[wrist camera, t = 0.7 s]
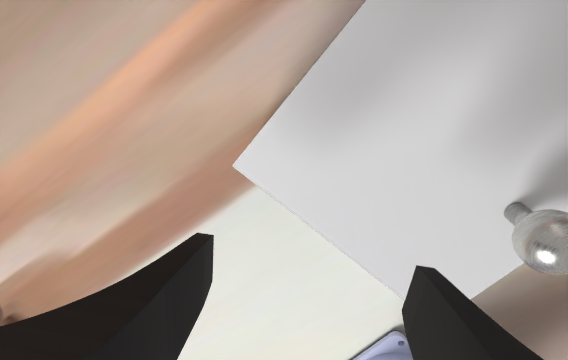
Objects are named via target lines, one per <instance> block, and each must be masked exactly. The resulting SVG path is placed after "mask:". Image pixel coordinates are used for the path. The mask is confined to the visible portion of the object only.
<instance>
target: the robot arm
mask: <svg viewBox="0 0 568 360" xmlns="http://www.w3.org/2000/svg"><path fill="white" fill-rule="evenodd" d="M213 241H214V235H209V234H202V233H196V234H194V235H193V236H191V237H190V238H188V239H187V240H186V241H184V242H183V243H181V244H180V245H178V246H177V247H175V248H174V249H172V250H171V251H169V252H168V253H166V254H165V255H163V256H162V257H160V258H159V259H157V260H156V261H154V262H152V263H151V264H149V265H147V266H146V267H144V268H142V269H141V270H139V271H137V272H136V273H134V274H132V275H130V276H129V277H127V278H125V279H123V280H121V281H119V282H117V283H115V284H113V285H111V286H109V287H107V288H105V289H103V290H101V291H98V292H96V293H94V294H92V295H89V296H87V297H84V298H82V299H79V300H77V301H75V302H72V303H70V304H67V305H65V306H62V307H60V308H57V309H54V310H51V311H48V312H46V313H43V314H40V315H37V316H34V317H31V318H28V319H25V320H21V321H18V322H15V323H12V324H8V325H5V326H1V327H0V360H177V359H178V357H179V355H180V353H181V351H182V349H183V347H184V345H185V343H186V341H187V339H188V337H189V335H190V333H191V331H192V329H193V327H194V325H195V323H196V321H197V319H198V316H199V314H200V312H201V310H202V308H203V306H204V303H205V301H206V298H207V295H208V292H209V289H210V286H211V283H212V275H213ZM402 315H403V321H404V327H405V332H406V336H404V335H403V334H402V333H400V332H398V331H393V332H391V333H389V334H388V335H387V336H385V337H384V338H382V339H381V340H380V341H378V342H377V343H375V344H374V345H373V346H371V347H370V348H368V349H367V350H366V351H364V352H363V353H361V354H360V355H359V356H357V357H356V358H354V359H353V360H544V359H542V358H541V357H539V356H538V355H537V354H535V353H534V352H533V351H531V350H530V349H528V348H527V347H526V346H524V345H523V344H522V343H521V342H519V341H518V340H517V339H515V338H514V337H513V336H512V335H511V334H509V333H508V332H507V331H506V330H504V329H503V328H502V327H501V326H500V325H498V324H497V323H496V322H495V321H494V320H492V319H491V318H490V317H489V316H488V315H487V314H485V313H484V312H483V311H482V310H481V309H480V308H479V307H477V306H476V305H475V304H474V303H473V302H472V301H471V300H470V299H469V298H468V297H466V296H465V295H464V294H463V293H462V292H461V291H460V290H459V289H458V288H457V287H455V286H454V285H453V284H452V283H451V282H450V281H449V280H448V279H447V278H446V277H444V276H443V275H442V274H441V273H440V272H439V271H437V270H436V269H435V268H432V267H425V266H418V265H416V268H415V271H414V274H413V277H412V280H411V283H410V286H409V289H408V293H407V296H406V299H405V302H404V305H403V308H402ZM399 341H401V342H399Z"/></svg>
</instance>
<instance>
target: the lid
mask: <svg viewBox="0 0 568 360" xmlns="http://www.w3.org/2000/svg"><path fill="white" fill-rule="evenodd" d="M232 166H233V167H234V168H235V169H237V170H238V171H239V172H240V173H242V174H243V175H244V176H246V177H247V178H248V179H249V180H251V181H252V182H253V183H255V184H256V185H257V186H258V187H260V188H261V189H262V190H263V191H265V192H266V193H267V194H269V195H270V196H271V197H272V198H274V199H275V200H276V201H278V202H279V203H280V204H281V205H283V206H284V207H285V208H287V209H288V210H289V211H290V212H292V213H293V214H294V215H296V216H297V217H298V218H299V219H301V220H302V221H303V222H305V223H306V224H307V225H308V226H310V227H311V228H312V229H313V230H315V231H316V232H317V233H319V234H320V235H321V236H322V237H324V238H325V239H326V240H328V241H329V242H330V243H331V244H333V245H334V246H335V247H337V248H338V249H339V250H340V251H342V252H343V253H344V254H346V255H347V256H348V257H349V258H351V259H352V260H353V261H355V262H356V263H357V264H358V265H360V266H361V267H362V268H363V269H365V270H366V271H367V272H369V273H370V274H371V275H372V276H374V277H375V278H376V279H378V280H379V281H380V282H381V283H383V284H384V285H385V286H387V287H388V288H389V289H390V290H392V291H393V292H394V293H396V294H397V295H398V296H399V297H401V298H402V299H403V300H405V299H406V296H407V293H408V289H409V286H410V283H411V280H412V277H413V274H414V271H415V268H416V265H418V266H425V267H432V268H435V269H436V270H437V271H439V272H440V273H441V274H442V275H443V276H444V277H446V278H447V279H448V280H449V281H450V282H451V283H452V284H453V285H454V286H455V287H457V288H458V289H459V290H460V291H461V292H462V293H463V294H464V295H465V296H466V297H468V298H469V299H472V298H473V297H475V296H476V295H478V294H479V293H481V292H482V291H484V290H485V289H486V288H488V287H489V286H491V285H492V284H494V283H495V282H497V281H498V280H500V279H501V278H503V277H504V276H506V275H507V274H508V273H510V272H511V271H513V270H514V269H516V268H517V267H519V266H520V265H522V264H523V263H525V264H526V265H528V266H529V267H531V268H532V269H534V270H536V271H539V272H541V273H545V274H549V275H568V0H366V1H365V2H364V3H363V4H362V6H361V7H360V8H359V9H358V11H357V12H356V13H355V14H354V16H353V17H352V18H351V19H350V21H349V22H348V23H347V24H346V25H345V27H344V28H343V29H342V30H341V32H340V33H339V34H338V35H337V37H336V38H335V39H334V40H333V41H332V43H331V44H330V45H329V46H328V48H327V49H326V50H325V51H324V53H323V54H322V55H321V56H320V58H319V59H318V60H317V61H316V62H315V64H314V65H313V66H312V67H311V69H310V70H309V71H308V72H307V74H306V75H305V76H304V77H303V78H302V80H301V81H300V82H299V83H298V85H297V86H296V87H295V88H294V90H293V91H292V92H291V93H290V95H289V96H288V97H287V98H286V99H285V101H284V102H283V103H282V104H281V106H280V107H279V108H278V109H277V111H276V112H275V113H274V114H273V115H272V117H271V118H270V119H269V120H268V122H267V123H266V124H265V125H264V127H263V128H262V129H261V130H260V132H259V133H258V134H257V135H256V136H255V138H254V139H253V140H252V141H251V143H250V144H249V145H248V146H247V148H246V149H245V150H244V151H243V153H242V154H241V155H240V156H239V157H238V159H237V160H236V161H235V162H234V164H233V165H232Z"/></svg>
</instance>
